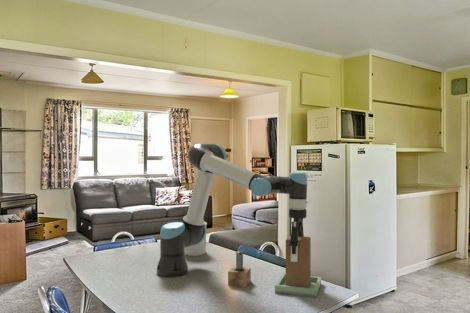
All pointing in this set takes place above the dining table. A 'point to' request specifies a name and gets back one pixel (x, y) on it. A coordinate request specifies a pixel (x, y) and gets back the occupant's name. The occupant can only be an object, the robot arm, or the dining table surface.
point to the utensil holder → (196, 248)
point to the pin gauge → (239, 260)
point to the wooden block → (299, 264)
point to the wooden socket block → (239, 277)
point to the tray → (300, 291)
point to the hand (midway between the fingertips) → (296, 257)
